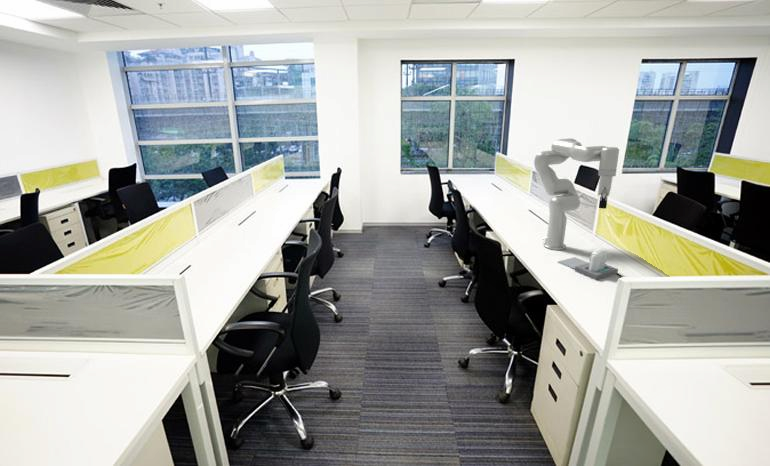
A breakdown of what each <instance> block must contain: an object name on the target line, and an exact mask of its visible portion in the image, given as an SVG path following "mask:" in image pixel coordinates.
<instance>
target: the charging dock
mask: <svg viewBox="0 0 770 466" xmlns="http://www.w3.org/2000/svg"><path fill="white" fill-rule="evenodd" d="M588 268H589V262H588V263H587V264H583V265H580V266H576V267H575V269H574V272H576V273H579V274H580V275H583V276H585V277H588V278H590V279H592V280H593V281H597V280H600V279H605V278H607V277H611V276H615V275H616V274H618V273H619V268H616V267H613V266H611V265H608V264H606V263H605V268H604V269H603V270H600V271H596V272H592V271H590V270H588Z"/></svg>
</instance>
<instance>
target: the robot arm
mask: <svg viewBox="0 0 770 466" xmlns="http://www.w3.org/2000/svg"><path fill="white" fill-rule="evenodd" d="M619 154H620V150H619V148H618V147H616V146H605V145H597V146H595V145H594V146H583V145H582V143H581V142H579V141H577V139H574V138H560V139H556V140H554V141H553V143H552V144H551V150H544V151H543V150H542V151H539V152H538V153H537V154H536V155H535V157H534V161H533V162H534V163H533V165H534V168H535V171H536V173H538V175H539V177H540V180H541V182H542V185H543V187H544V189H545V192H546V194H547V195H548V196H551V197H552V196H553V197H552V198H551V199H550V200H549V202H548V208H549V219H548V225H547V226H548V227H547V235H544V236H543V237H542V238H541V239H542V240H543V241H544V242H543V245H542V246H543V247H544V248H546V249H549V250H554V251H562V250H565V249H566V248H567V245H566V244H565V237H566V229H567V228H566V227H567V219H568V218H567V216H566V213H565V212H571V211H572V212H573V211H575V210H577V209H579V207H580V206H581V200H580V197H579V195H578V192H577V190H576V188H575V185H574V184H573V182H572V181H571V180H570V179H568V178H559V177H558V176H557V174H556V171H555V170H554V169H553V168H552V167H551V165H552V166H554V165H560V164H564V163H565V162H566V161H567V160H568V159H570V158H571V159H572V160H574V161H578V162H581V163H583V162H584V163H591V162H599V165H598V175H597V177H598V176H599V182H598V191H597V196H600V197H599V203H598V208H599V209H603V210H605V209H607V204H608V197H609V196H610V193H611V188H612V183H613V178H614V177H616V176H617V175H616V174H617V168H618V160H619V156H620V155H619ZM549 165H550V166H549Z"/></svg>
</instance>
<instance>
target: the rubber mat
mask: <svg viewBox="0 0 770 466" xmlns="http://www.w3.org/2000/svg"><path fill="white" fill-rule="evenodd" d="M557 263H558V264H561V265H563V266H565V267H568V268H570V269H573V270H575V267H576V266H580V265H583V264H587V263H589V262H588V261H585V260H584V259H580V258H578V257H575V256H574V257H570V258H565V259H562V260H560V261H557Z"/></svg>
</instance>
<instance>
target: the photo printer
mask: <svg viewBox="0 0 770 466" xmlns="http://www.w3.org/2000/svg"><path fill="white" fill-rule="evenodd" d="M607 256H608V252H607V250H606V249H603V248H600V249H596V250H595V251H593V252H592V253H591V254H590V257H589V262H588V263H589V268H588V270H590V271H592V272H596V271H600V270H603V269H604V268H605V264H606V262H607Z"/></svg>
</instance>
